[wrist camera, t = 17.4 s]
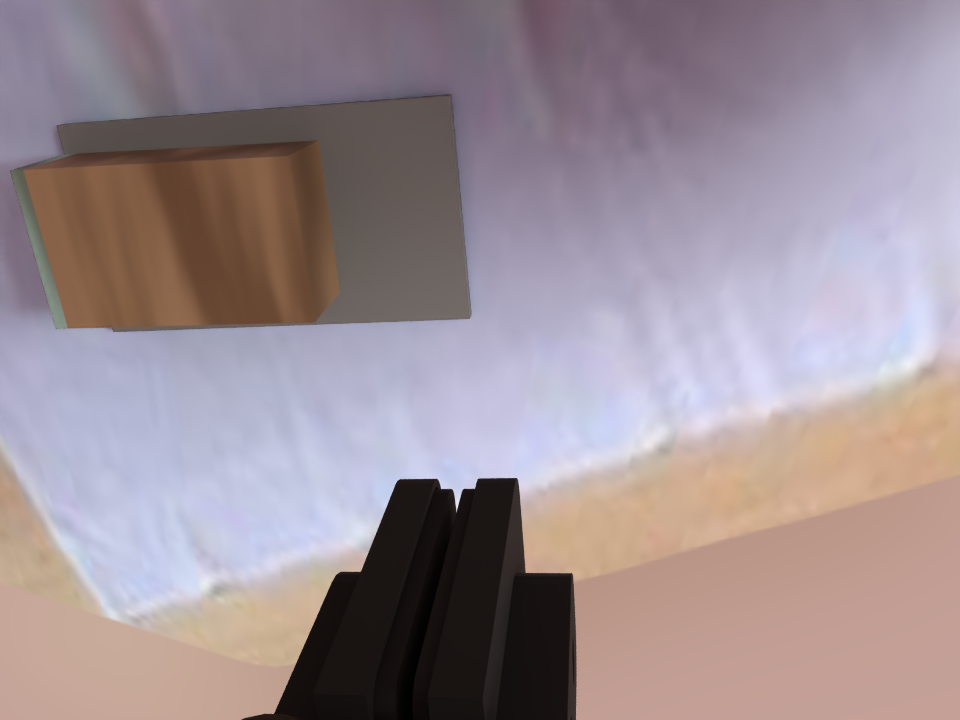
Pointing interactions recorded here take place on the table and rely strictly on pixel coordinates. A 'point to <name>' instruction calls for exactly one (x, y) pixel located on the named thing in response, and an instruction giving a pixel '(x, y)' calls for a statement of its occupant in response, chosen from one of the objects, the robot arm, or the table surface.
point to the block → (182, 235)
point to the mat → (347, 195)
